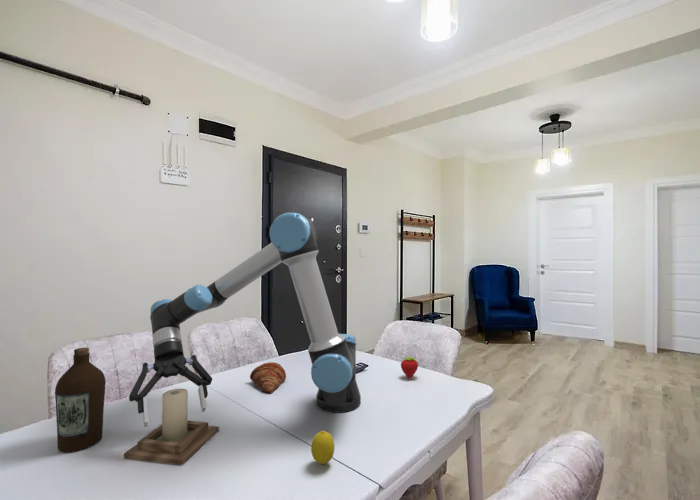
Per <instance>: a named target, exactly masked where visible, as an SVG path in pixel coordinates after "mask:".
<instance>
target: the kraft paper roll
mask: <svg viewBox="0 0 700 500" xmlns="http://www.w3.org/2000/svg"><path fill="white" fill-rule="evenodd" d="M188 394H189V393H188V389H186V388H174V389H170V390H167V391H165V392H163V393H162V395H161V396H162V399H161V401H162V402H161V403H162V404H161V405H162V407H161V408H162V414H161V416H162V417H161V418H162V419H161V422H162V423H161V425H162V441H171V442H180V441H181V440H183V439H184V438H185V437H186V436H187V421H188V410H189V408H188V407H189V406H188V401H189V400H188V399H189V397H188Z"/></svg>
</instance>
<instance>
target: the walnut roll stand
mask: <svg viewBox="0 0 700 500" xmlns="http://www.w3.org/2000/svg"><path fill="white" fill-rule="evenodd" d="M219 431H220V426H215V425H209V422H208V421H198V420H197V421H196V420H187V436H186V437H185V438H184V439H183V440H181V441H180V442H171V441H162V424H161V425H159V426H158V427H156V428H155V429H154V430H152V431H150V432H149V433H148V434H146V435H145V436H144V437H142V438H140V439H139V440H138V441H137V442H136V444H135V445H134V446H133V447H131V448H129V449H128V450H127V451H126V452H124V453H123V459H125V460H133V461H134V460H136V461H141V462H142V461H144V462H152V463H161V464H171V465H176V466H177V465H178V466H183V465H185V464H186V462H188V461H189V460H190V459H191V458H192V457H193V456H194V455H195V454H196V453H197V452H199V450H200V449H202V447H204V445H206V444H207V443H208V441H210V440H211V439H212V438H213V437H214V436H215V435H216V434H217V433H218V432H219Z"/></svg>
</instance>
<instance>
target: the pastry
mask: <svg viewBox="0 0 700 500" xmlns="http://www.w3.org/2000/svg"><path fill="white" fill-rule="evenodd" d="M249 378H250V380H251V381H252V382H253V384H254V386H255V387H256V388H258V389H260V390H261V391H262V392H264V393H266V394H267V393H268V394H273V393H274V392H275V391H276V390H277V389H278V388H279V387H280V386H281V384H283V383H284V382H285V381H286V378H287V373H286V370H285V368H284V367H283V366H282V365H281V364H280V363H278V362H271V361H270V362H266V363H264V362H263V363H262V364H260V365H258V366H256V367H255V368H254V369H252V371H251V373H250V375H249Z"/></svg>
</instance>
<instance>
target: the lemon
mask: <svg viewBox="0 0 700 500" xmlns="http://www.w3.org/2000/svg"><path fill="white" fill-rule="evenodd" d="M310 449H311V455H312V458H313V460H314V461H315V462H316V463H318V464H320V465H326V464H327V463H329V462H330V461H331V460H332V459H333V457H334V453H335V442H334V438H333V436H332V435H331V433H329V432H327V431H325V430H321V431H318V432H317V433H316V434H314V437H313V439H312V440H311V448H310Z"/></svg>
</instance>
